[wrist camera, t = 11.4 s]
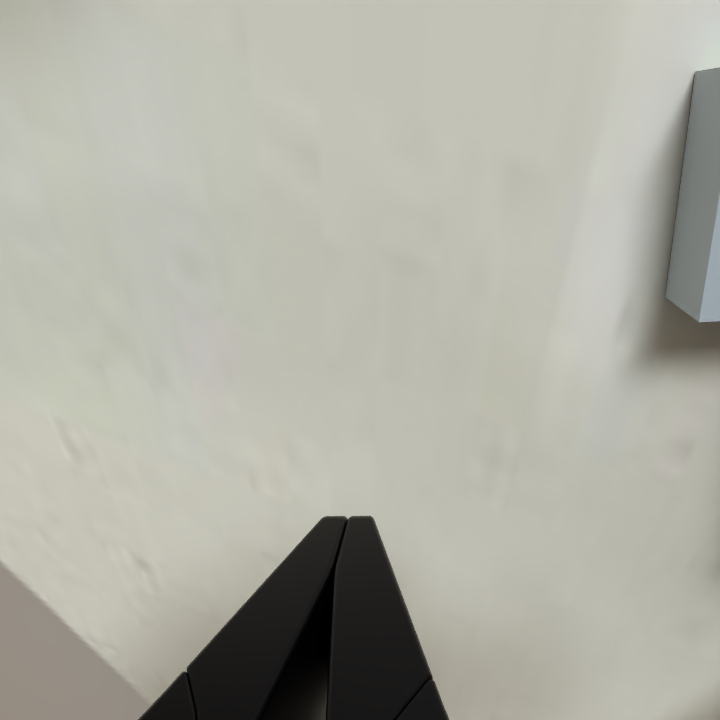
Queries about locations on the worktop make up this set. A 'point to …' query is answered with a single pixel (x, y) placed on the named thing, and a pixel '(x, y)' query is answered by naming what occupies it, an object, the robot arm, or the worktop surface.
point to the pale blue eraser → (699, 208)
